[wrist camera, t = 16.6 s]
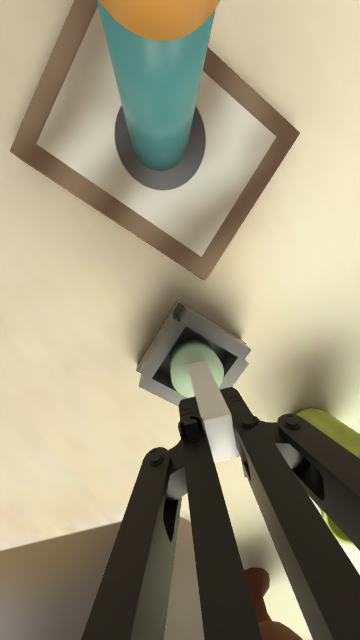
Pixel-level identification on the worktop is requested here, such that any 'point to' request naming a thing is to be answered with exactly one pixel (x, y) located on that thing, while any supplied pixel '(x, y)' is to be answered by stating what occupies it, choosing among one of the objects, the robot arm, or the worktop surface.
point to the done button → (189, 354)
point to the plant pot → (342, 436)
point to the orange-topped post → (158, 70)
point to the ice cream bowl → (273, 633)
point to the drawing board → (128, 171)
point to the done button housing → (181, 328)
